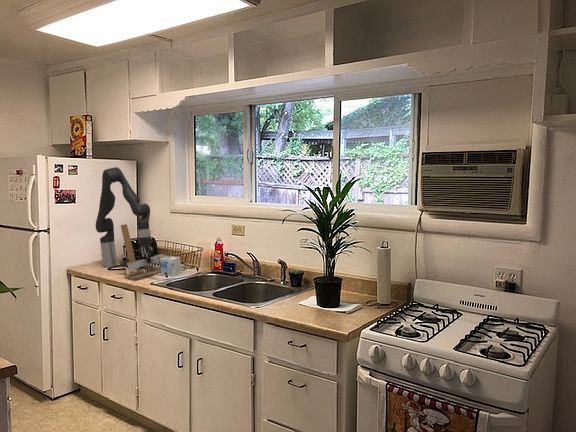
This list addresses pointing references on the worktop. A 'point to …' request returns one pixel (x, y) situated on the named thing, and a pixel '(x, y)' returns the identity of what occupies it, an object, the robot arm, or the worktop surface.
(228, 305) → the worktop surface
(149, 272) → the tool board
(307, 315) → the worktop surface
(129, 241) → the hammer
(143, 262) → the spanner
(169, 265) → the light bulb box
